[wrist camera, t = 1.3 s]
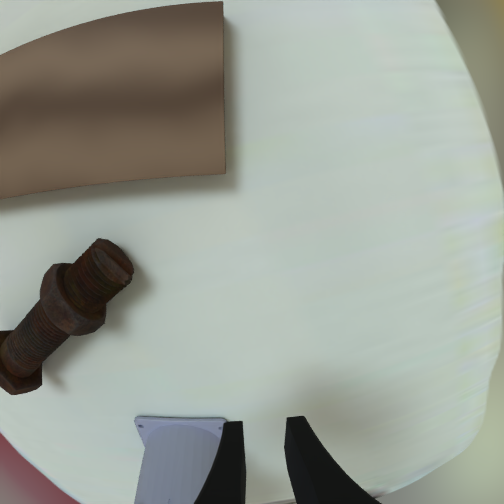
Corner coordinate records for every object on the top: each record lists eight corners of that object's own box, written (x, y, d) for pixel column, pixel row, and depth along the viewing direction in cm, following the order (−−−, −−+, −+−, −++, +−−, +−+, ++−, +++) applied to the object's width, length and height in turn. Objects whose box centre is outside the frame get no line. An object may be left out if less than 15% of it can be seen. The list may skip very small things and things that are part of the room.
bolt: (141, 248, 21) (35, 349, 22) (88, 205, 17) (-11, 325, 18) (155, 312, 17) (35, 406, 18) (85, 268, 13) (-18, 385, 14)
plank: (225, 171, 18) (225, 174, 16) (-79, 216, 16) (-93, 222, 14) (223, 15, 15) (223, 0, 13) (-83, 116, 13) (-97, 116, 11)
